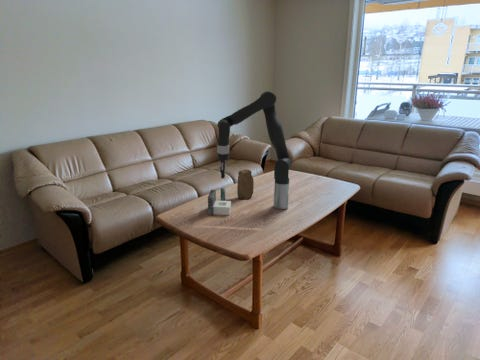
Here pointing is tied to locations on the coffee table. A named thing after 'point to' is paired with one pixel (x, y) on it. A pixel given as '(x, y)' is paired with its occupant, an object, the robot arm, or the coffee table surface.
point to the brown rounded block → (245, 184)
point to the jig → (211, 201)
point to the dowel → (222, 194)
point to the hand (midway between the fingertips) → (222, 178)
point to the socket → (222, 207)
